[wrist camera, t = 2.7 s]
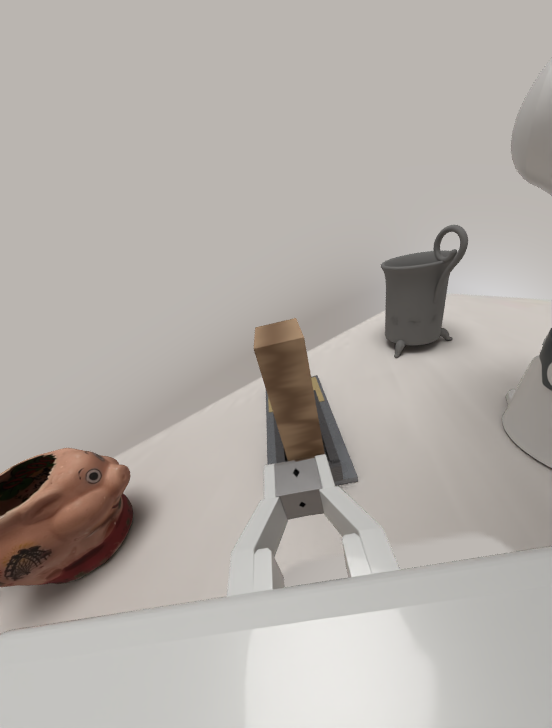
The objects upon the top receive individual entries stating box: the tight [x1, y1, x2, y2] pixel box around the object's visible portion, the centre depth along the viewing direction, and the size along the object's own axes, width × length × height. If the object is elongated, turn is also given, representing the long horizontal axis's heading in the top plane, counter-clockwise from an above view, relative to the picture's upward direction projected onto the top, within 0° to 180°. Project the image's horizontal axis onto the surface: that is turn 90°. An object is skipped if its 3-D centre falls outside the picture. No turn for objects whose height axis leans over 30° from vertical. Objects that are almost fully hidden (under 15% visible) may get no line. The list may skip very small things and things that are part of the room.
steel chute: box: [266, 376, 358, 486], centre depth 41 cm, size 12×25×4 cm, turn 3°
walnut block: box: [254, 318, 325, 461], centre depth 30 cm, size 5×6×20 cm
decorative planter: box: [0, 448, 133, 587], centre depth 28 cm, size 20×12×14 cm, turn 119°
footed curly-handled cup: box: [381, 225, 468, 358], centre depth 50 cm, size 19×15×25 cm
